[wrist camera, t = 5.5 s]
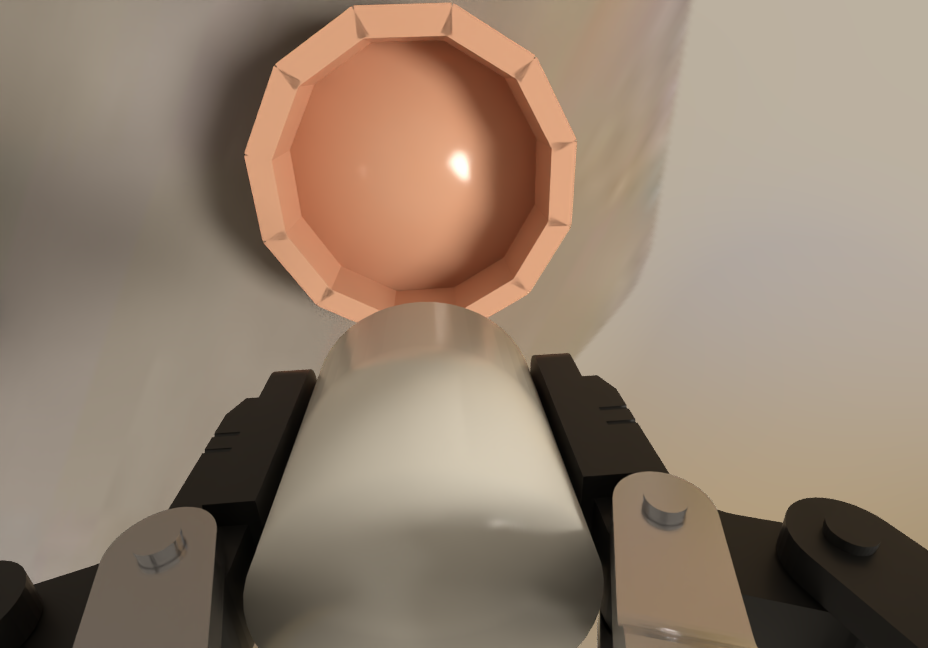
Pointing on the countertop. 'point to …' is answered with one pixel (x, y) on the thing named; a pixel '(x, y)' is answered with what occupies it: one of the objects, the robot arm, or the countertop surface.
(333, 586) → the cream rounded lump
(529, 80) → the bowl
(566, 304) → the countertop surface
